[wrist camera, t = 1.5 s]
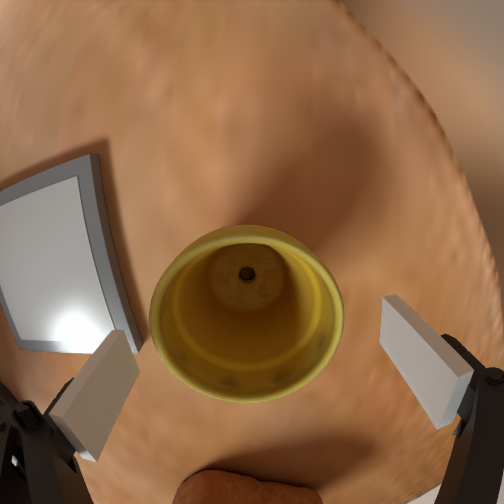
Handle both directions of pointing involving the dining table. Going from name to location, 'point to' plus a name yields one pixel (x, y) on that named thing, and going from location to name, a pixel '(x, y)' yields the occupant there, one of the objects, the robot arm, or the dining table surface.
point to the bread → (240, 490)
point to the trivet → (61, 262)
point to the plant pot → (246, 315)
